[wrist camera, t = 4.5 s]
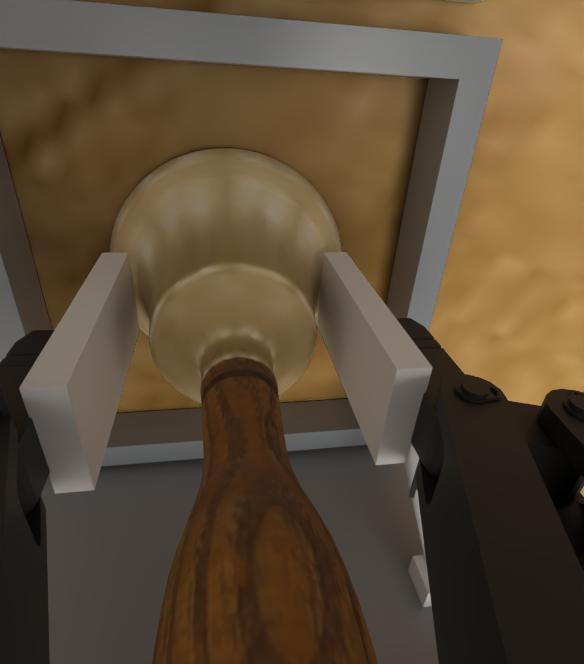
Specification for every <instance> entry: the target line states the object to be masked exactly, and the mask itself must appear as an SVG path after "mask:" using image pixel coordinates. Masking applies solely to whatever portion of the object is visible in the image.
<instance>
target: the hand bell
mask: <svg viewBox="0 0 584 664" xmlns="http://www.w3.org/2000/svg"><path fill="white" fill-rule="evenodd" d="M324 252H342V248H341V241H340V236H339V232H338V228H337V225H336V223H335V220H334V218H333V216H332V213H331V211H330V209H329V208H328V206H327V204H326V202H325V201H324V199H323V198H322V197H321V195H320V194H319V193H318V192H317V190H316V189H315V188H314V187H313V186H312V185H311V184H310V183H309V182H308V181H307V180H306V179H305V178H304V177H303V176H302V175H300V174H299V173H298V172H297V171H295V170H294V169H292V168H291V167H289V166H287V165H286V164H284V163H282V162H280V161H278V160H277V159H274V158H272V157H269V156H266V155H264V154H261V153H257V152H253V151H249V150H244V149H233V148H218V149H204V150H199V151H195V152H191V153H188V154H186V155H181V156H179V157H175V158H173V159H171V160H169V161H167V162H165V163H164V164H163V165H161V166H160V167H158V168H157V169H155V170H154V171H152V172H151V173H150V174H148V175H147V176H146V177H145V178H144V179H143V180H142V181H141V182H140V183H139V184H138V185H137V186H136V187H135V188H134V189H133V191H132V192H131V193H130V195H129V196H128V197H127V199H126V200H125V202H124V204H123V205H122V207H121V209H120V211H119V213H118V216H117V218H116V221H115V224H114V227H113V231H112V236H111V243H110V253H129V260H130V266H131V273H132V280H133V287H134V294H135V301H136V307H137V314H138V321H139V328H140V329H141V330H142V331H143V332H144V333H145V334H146V335H147V336H148V337H149V343H150V348H151V352H152V356H153V360H154V362H155V364H156V366H157V368H158V369H159V371H160V372H161V374H162V375H163V377H164V378H165V379H166V380H167V381H168V382H169V383H170V384H171V385H172V386H173V387H174V388H175V389H176V390H178V391H179V392H180V393H182V394H183V395H185V396H186V397H188V398H190V399H192V400H195V401H197V402H200V403H202V427H203V454H204V460H203V471H202V479H201V484H200V488H199V491H198V494H197V497H196V500H195V503H194V506H193V508H192V511H191V513H190V516H189V519H188V521H187V524H186V526H185V529H184V531H183V534H182V537H181V539H180V542H179V544H178V547H177V550H176V553H175V556H174V559H173V563H172V566H171V569H170V573H169V576H168V580H167V585H166V589H165V594H164V599H163V603H162V608H161V612H160V617H159V623H158V629H157V635H156V641H155V646H154V652H153V658H152V664H378V662H377V659H376V655H375V651H374V648H373V645H372V641H371V638H370V635H369V632H368V628H367V625H366V622H365V619H364V615H363V612H362V609H361V606H360V603H359V600H358V597H357V595H356V592H355V589H354V587H353V584H352V582H351V579H350V576H349V574H348V571H347V569H346V566H345V564H344V562H343V560H342V557H341V555H340V553H339V551H338V548H337V546H336V544H335V542H334V539H333V537H332V535H331V534H330V532H329V530H328V528H327V527H326V525H325V523H324V522H323V520H322V518H321V517H320V515H319V513H318V512H317V510H316V509H315V507H314V506H313V504H312V502H311V501H310V499H309V498H308V496H307V495H306V493H305V492H304V490H303V489H302V487H301V485H300V483H299V481H298V480H297V478H296V476H295V473H294V471H293V469H292V466H291V464H290V460H289V456H288V453H287V449H286V443H285V437H284V430H283V423H282V416H281V409H280V404H279V399H278V398H279V395H280V394H282V393H283V392H285V391H286V390H288V389H289V388H290V387H291V386H292V385H293V384H294V383H295V382H297V381H298V380H299V379H300V377H301V376H302V375H303V373H304V372H305V371H306V369H307V367H308V365H309V363H310V361H311V359H312V356H313V353H314V349H315V346H316V337H317V319H318V309H319V298H320V288H321V278H322V268H323V258H324Z"/></svg>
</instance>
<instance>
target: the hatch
mask: <svg viewBox="0 0 584 664" xmlns="http://www.w3.org/2000/svg"><path fill="white" fill-rule="evenodd" d="M502 40H503V39H499V38H488V37H476V36H465V35H454V34H443V33H431V32H420V31H409V30H398V29H387V28H375V27H364V26H353V25H342V24H330V23H319V22H308V21H297V20H285V19H274V18H263V17H252V16H240V15H229V14H218V13H207V12H196V11H184V10H173V9H162V8H151V7H139V6H128V5H117V4H106V3H94V2H83V1H72V0H0V49H7V50H21V51H36V52H50V53H64V54H79V55H93V56H108V57H122V58H136V59H151V60H165V61H180V62H194V63H208V64H223V65H237V66H252V67H266V68H280V69H295V70H309V71H323V72H338V73H352V74H367V75H381V76H395V77H410V78H424V79H428V84H427V90H426V95H425V100H424V105H423V111H422V116H421V121H420V127H419V132H418V137H417V143H416V148H415V153H414V159H413V164H412V169H411V175H410V180H409V185H408V191H407V196H406V201H405V207H404V212H403V217H402V223H401V228H400V233H399V239H398V244H397V249H396V255H395V260H394V265H393V271H392V276H391V281H390V287H389V292H388V297H387V303H386V306H387V307H388V308H389V310H390V311H391V312H392V314H393V315H394V316H395V318H411V319H413V320H414V321H416V322H418V323H419V324H421V325H423V326H424V327H425V328H426V329H427V330H428V331H429V328H430V324H431V320H432V316H433V312H434V308H435V304H436V300H437V296H438V292H439V288H440V284H441V280H442V276H443V272H444V269H445V265H446V261H447V257H448V253H449V249H450V245H451V241H452V237H453V233H454V229H455V225H456V221H457V217H458V213H459V209H460V205H461V201H462V197H463V194H464V190H465V186H466V182H467V178H468V174H469V170H470V166H471V162H472V158H473V154H474V150H475V146H476V142H477V138H478V134H479V130H480V126H481V122H482V119H483V115H484V111H485V107H486V103H487V99H488V95H489V91H490V87H491V83H492V79H493V75H494V71H495V67H496V63H497V59H498V55H499V51H500V48H501V44H502ZM33 330H52V328H51V324H50V321H49V317H48V313H47V309H46V306H45V302H44V298H43V294H42V291H41V287H40V283H39V279H38V276H37V272H36V268H35V264H34V260H33V257H32V253H31V249H30V245H29V242H28V238H27V234H26V230H25V227H24V223H23V219H22V215H21V212H20V208H19V204H18V200H17V197H16V193H15V189H14V185H13V182H12V178H11V174H10V170H9V167H8V163H7V159H6V155H5V151H4V148H3V144H2V140H1V136H0V363H1V361H2V360H3V358H6V354H7V353H8V352H9V350H10V349H11V348H12V346H13V345H14V343H15V342H16V341H18V340H19V339H21V338H22V337H24V336H25V335H27V334H28V333H30V332H31V331H33ZM279 404H280V409H281V416H282V423H283V430H284V437H285V443H286V449H287V453H288V456H289V460H290V464H291V466H292V469H293V471H294V473H295V476H296V478H297V480H298V481H299V483H300V485H301V487H302V489H303V490H304V492H305V493H306V495H307V496H308V498H309V499H310V501H311V502H312V504H313V506H314V507H315V509H316V510H317V512H318V513H319V515H320V517H321V518H322V520H323V522H324V523H325V525H326V527H327V528H328V530H329V532H330V534H331V535H332V537H333V539H334V542H335V544H336V546H337V548H338V551H339V553H340V555H341V557H342V560H343V562H344V564H345V566H346V569H347V571H348V574H349V576H350V579H351V582H352V584H353V587H354V589H355V592H356V595H357V597H358V600H359V603H360V606H361V609H362V612H363V615H364V619H365V622H366V625H367V628H368V632H369V635H370V638H371V641H372V645H373V648H374V651H375V655H376V659H377V662H378V664H439V661H438V653H437V645H436V637H435V629H434V621H433V613H432V605H431V596H430V588H429V580H428V572H427V564H426V556H425V548H424V540H423V531H422V523H421V515H420V507H419V499H418V491H417V490H416V492H415V496H414V498H409V493H410V488H411V485H412V481H413V478H414V474H415V471H416V468H417V464H418V461H419V457H418V455H417V453H416V451H415V449H414V447H413V445H411V448H410V452H409V455H408V459H407V463H396V464H385V465H375V463H374V460H373V458H372V455H371V453H370V451H369V448H368V446H367V443H366V441H365V439H364V436H363V434H362V431H361V429H360V427H359V424H358V422H357V419H356V417H355V415H354V412H353V410H352V407H351V405H350V402H349V400H348V399H338V400H322V401H306V402H290V403H279ZM203 460H204V454H203V427H202V408H194V409H178V410H162V411H146V412H130V413H116V416H115V419H114V423H113V426H112V430H111V433H110V437H109V440H108V444H107V447H106V451H105V455H104V458H103V462H102V465H101V469H100V472H99V476H98V479H97V483H96V486H95V490H91V491H80V492H68V493H57V494H55V492H54V489H53V486H52V483H51V480H50V477H49V476H48V478H47V481H46V483H45V486H44V488H43V491H42V493H41V497H42V499H43V502H44V505H45V508H46V524H47V568H48V613H49V657H50V664H152V658H153V652H154V646H155V641H156V635H157V629H158V623H159V617H160V612H161V608H162V603H163V599H164V594H165V589H166V585H167V580H168V576H169V573H170V569H171V566H172V563H173V559H174V556H175V553H176V550H177V547H178V544H179V542H180V539H181V537H182V534H183V531H184V529H185V526H186V524H187V521H188V519H189V516H190V513H191V511H192V508H193V506H194V503H195V500H196V497H197V494H198V491H199V488H200V484H201V479H202V471H203Z"/></svg>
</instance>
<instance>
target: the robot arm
mask: <svg viewBox="0 0 584 664" xmlns="http://www.w3.org/2000/svg"><path fill="white" fill-rule="evenodd" d="M317 326H318V328H319V330H320V333H321V335H322V338H323V340H324V342H325V345H326V347H327V350H328V352H329V354H330V357H331V359H332V362H333V364H334V366H335V369H336V371H337V374H338V376H339V378H340V381H341V383H342V386H343V388H344V390H345V393H346V395H347V398H348V400H349V402H350V405H351V407H352V410H353V412H354V415H355V417H356V419H357V422H358V424H359V427H360V429H361V431H362V434H363V436H364V439H365V441H366V443H367V446H368V448H369V451H370V453H371V455H372V458H373V460H374V463H375V465H385V464H396V463H407V459H408V455H409V452H410V448H411V445H413V447H414V449H415V451H416V453H417V455H418V457H419V461H418V464H417V468H416V471H415V474H414V478H413V481H412V485H411V488H410V493H409V498H414V496H415V492H416V490H417V491H418V499H419V507H420V515H421V523H422V531H423V540H424V548H425V556H426V564H427V572H428V580H429V588H430V596H431V605H432V613H433V621H434V629H435V637H436V645H437V653H438V661H439V664H584V497H583V496H582V494H581V493H580V491H581V490H582V488H583V486H584V393H583V392H582V393H581V392H580V391H575V390H567V389H558V390H552V391H551V392H549V393H548V394H547V395H546V397H545V399H544V401H543V403H542V406H537V405H531V404H524V403H518V402H512V401H508V400H507V398H506V396H505V395H504V394H503V392H502V391H501V390H500V389H499V388H498V387H496V386H495V385H493V384H492V383H491V382H488V381H486V380H484V379H482V378H479V377H475V376H471V375H465V374H464V373H463V372H462V371H461V370H460V368H459V367H458V366H457V365H456V364H455V362H454V361H453V360H452V359H451V358H450V356H449V355H448V354H447V353H446V352H445V350H444V349H443V348H441V346H440V344H439V343H438V342H437V341H436V340H434V337H433V336H432V335H431V334H430V332H429V331H428V330H427V329H426V328H425V327H424V326H423V325H421V324H419V323H418V322H416V321H414V320H413V319H411V318H395V316H394V315H393V314H392V312H391V311H390V310H389V308H388V307H387V306H386V304H385V303H384V302H383V300H382V299H381V298H380V296H379V295H378V294H377V292H376V291H375V290H374V288H373V287H372V286H371V284H370V283H369V282H368V280H367V279H366V278H365V276H364V275H363V274H362V272H361V271H360V270H359V268H358V267H357V266H356V264H355V263H354V262H353V260H352V259H351V258H350V256H349V255H348V254H347V252H324V258H323V268H322V278H321V288H320V298H319V309H318V319H317ZM139 330H140V328H139V321H138V314H137V307H136V301H135V294H134V287H133V280H132V273H131V266H130V260H129V253H102V254H101V255H100V257H99V259H98V260H97V262H96V263H95V265H94V267H93V268H92V270H91V272H90V273H89V275H88V277H87V278H86V280H85V281H84V283H83V285H82V286H81V288H80V290H79V291H78V293H77V294H76V296H75V298H74V299H73V301H72V303H71V304H70V306H69V308H68V309H67V311H66V312H65V314H64V316H63V317H62V319H61V321H60V322H59V324H58V325H57V327H56V329H55V330H33V331H31V332H30V333H28V334H27V335H25V336H24V337H22V338H21V339H19V340H18V341H16V342H15V343H14V345H13V346H12V348H11V349H10V350H9V352H8V353H7V354H6V358H3V360H2V361H1V363H0V664H50V657H49V613H48V568H47V524H46V508H45V505H44V502H43V499H42V497H41V493H42V491H43V488H44V486H45V483H46V481H47V478H48V476H49V477H50V480H51V483H52V486H53V489H54V492H55V494H57V493H68V492H80V491H91V490H95V486H96V483H97V479H98V476H99V472H100V469H101V465H102V462H103V458H104V455H105V451H106V447H107V444H108V440H109V437H110V433H111V430H112V426H113V423H114V419H115V416H116V412H117V408H118V405H119V401H120V398H121V394H122V391H123V387H124V384H125V380H126V377H127V373H128V369H129V366H130V362H131V359H132V355H133V352H134V348H135V345H136V341H137V338H138V334H139Z"/></svg>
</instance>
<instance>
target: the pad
mask: <svg viewBox="0 0 584 664" xmlns="http://www.w3.org/2000/svg"><path fill="white" fill-rule="evenodd" d="M447 1H457V2H466V3H477V2H481V1H485V0H447Z"/></svg>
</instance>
